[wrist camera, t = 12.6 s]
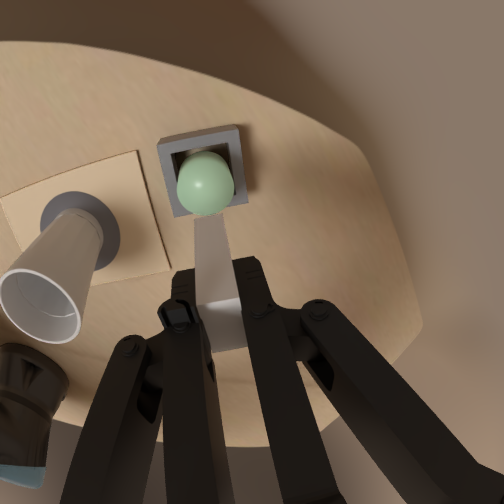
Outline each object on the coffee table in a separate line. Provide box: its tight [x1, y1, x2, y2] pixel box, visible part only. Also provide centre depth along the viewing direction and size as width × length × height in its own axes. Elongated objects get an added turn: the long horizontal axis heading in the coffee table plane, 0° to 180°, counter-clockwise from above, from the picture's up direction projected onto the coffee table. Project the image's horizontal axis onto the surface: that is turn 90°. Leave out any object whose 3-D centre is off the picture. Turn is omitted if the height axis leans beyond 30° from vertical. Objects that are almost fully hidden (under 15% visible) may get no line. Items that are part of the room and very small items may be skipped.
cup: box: [0, 208, 103, 344], centre depth 24 cm, size 8×8×12 cm
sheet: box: [0, 150, 171, 286], centre depth 29 cm, size 18×14×1 cm
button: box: [177, 151, 234, 216], centre depth 24 cm, size 4×4×4 cm
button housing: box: [157, 124, 248, 218], centre depth 27 cm, size 7×7×3 cm
